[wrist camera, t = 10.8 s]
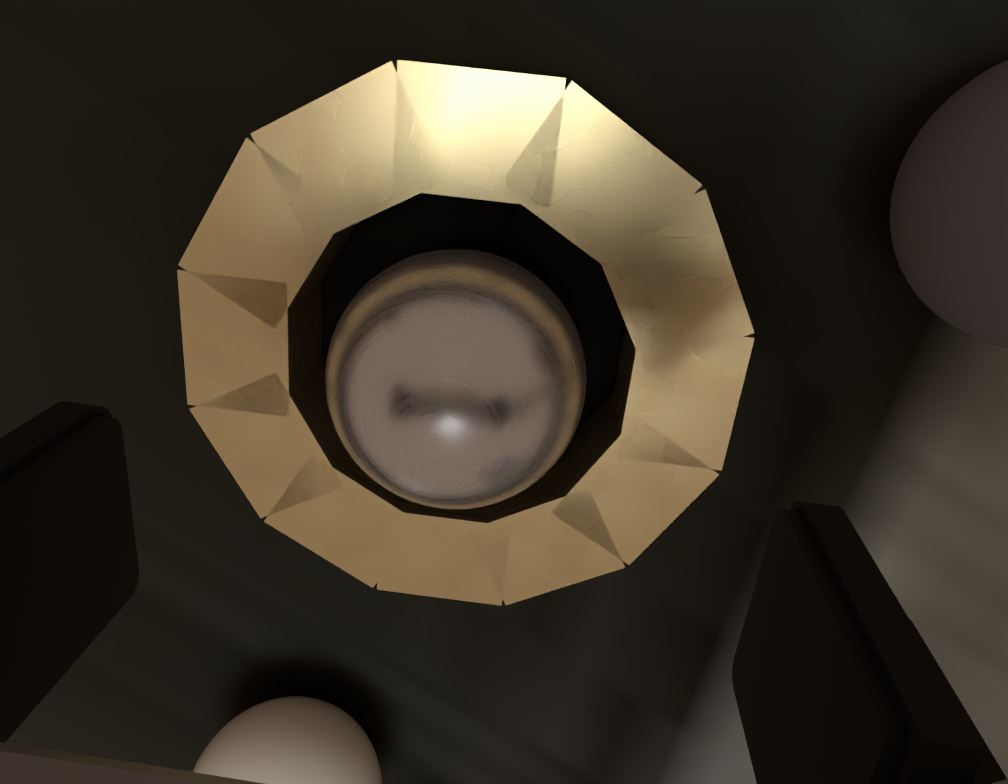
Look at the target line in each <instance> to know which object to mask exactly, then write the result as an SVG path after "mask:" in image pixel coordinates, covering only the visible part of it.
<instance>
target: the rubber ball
mask: <svg viewBox="0 0 1008 784" xmlns="http://www.w3.org/2000/svg"><path fill="white" fill-rule="evenodd" d="M890 232H891V237H892V243H893V248H894V253H895V255H896V258H897V261H898V264H899V267H900V269H901V271H902V272H903V274H904V276H905V278H906V280H907V282H908V283H909V285H910V286H911V288H912V289H913V290H914V292H915V293H916V294H917V296H918V297H919V298H920V300H921V301H922V302H924V303H925V304H926V305H927V306H928V307H929V308H930V309H931V310H932V311H933V312H934V313H935V314H937V315H938V316H939V317H940V318H942V319H943V320H945V321H946V322H947V323H949V324H950V325H952V326H953V327H955V328H957V329H959V330H961V331H963V332H965V333H967V334H969V335H971V336H973V337H975V338H978V339H980V340H983V341H986V342H989V343H992V344H995V345H999V346H1004V347H1008V60H1006V61H1004V62H1002V63H1000V64H998V65H996V66H994V67H992V68H990V69H988V70H987V71H985V72H984V73H982V74H980V75H979V76H977V77H976V78H974V79H973V80H971V81H970V82H969V83H967V84H966V85H965V86H964V87H962V88H961V89H960V90H958V91H957V92H956V93H955V94H953V95H952V96H951V97H950V98H949V99H948V100H947V101H946V102H944V103H943V104H942V105H941V106H940V107H939V108H938V109H937V110H936V111H935V112H934V113H933V115H932V116H931V117H930V118H929V120H928V121H927V122H926V123H925V124H924V126H923V127H922V128H921V130H920V131H919V133H918V134H917V136H916V137H915V139H914V140H913V142H912V143H911V145H910V147H909V149H908V151H907V153H906V155H905V157H904V159H903V161H902V163H901V165H900V168H899V171H898V174H897V176H896V179H895V183H894V187H893V192H892V196H891V205H890Z"/></svg>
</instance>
